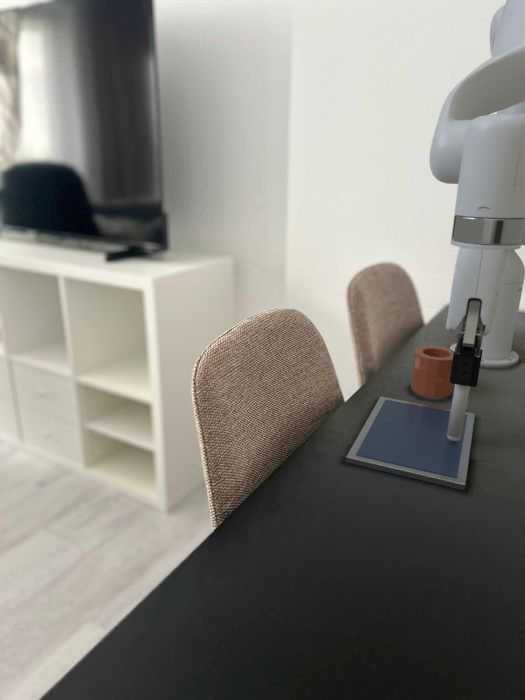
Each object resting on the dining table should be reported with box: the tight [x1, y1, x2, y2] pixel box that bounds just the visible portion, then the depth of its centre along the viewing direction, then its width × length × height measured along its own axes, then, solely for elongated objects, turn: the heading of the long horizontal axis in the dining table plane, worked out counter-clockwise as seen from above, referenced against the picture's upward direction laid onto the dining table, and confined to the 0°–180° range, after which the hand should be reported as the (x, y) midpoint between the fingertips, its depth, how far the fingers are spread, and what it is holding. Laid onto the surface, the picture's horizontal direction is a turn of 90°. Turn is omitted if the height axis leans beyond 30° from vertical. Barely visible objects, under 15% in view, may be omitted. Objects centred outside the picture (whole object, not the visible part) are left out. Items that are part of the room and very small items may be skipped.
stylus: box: [447, 350, 476, 442], centre depth 65 cm, size 2×2×14 cm
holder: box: [410, 345, 455, 398], centre depth 83 cm, size 7×7×7 cm
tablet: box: [345, 396, 476, 491], centre depth 70 cm, size 20×14×1 cm
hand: (463, 380), depth 65 cm, fingers closed on stylus, 1 cm apart
